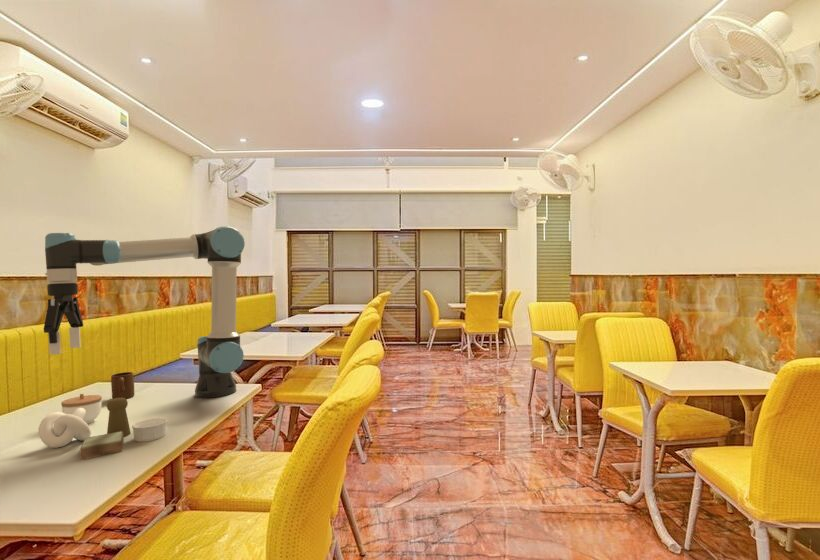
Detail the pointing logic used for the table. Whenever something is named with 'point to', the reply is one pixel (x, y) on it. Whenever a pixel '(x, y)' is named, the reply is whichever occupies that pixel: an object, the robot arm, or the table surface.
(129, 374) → the mug
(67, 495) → the table surface
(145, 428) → the ramekin
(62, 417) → the white decorative knot
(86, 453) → the stand
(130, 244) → the robot arm
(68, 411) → the lidded jar
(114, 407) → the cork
